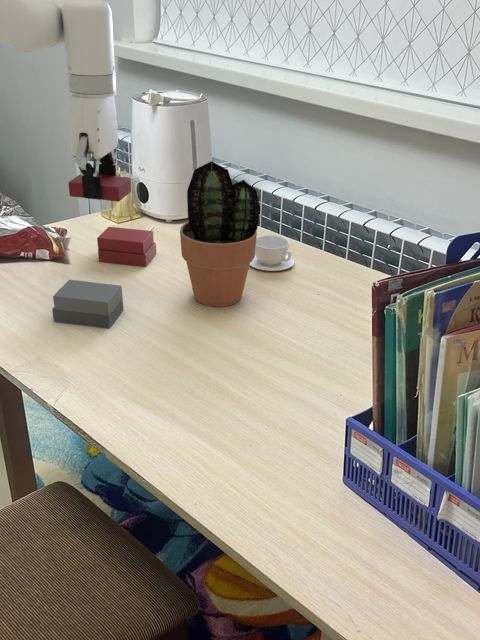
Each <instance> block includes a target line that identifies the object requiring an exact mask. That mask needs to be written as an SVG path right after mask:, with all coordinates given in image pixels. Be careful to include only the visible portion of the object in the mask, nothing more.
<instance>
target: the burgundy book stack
mask: <svg viewBox="0 0 480 640" xmlns="http://www.w3.org/2000/svg"><path fill="white" fill-rule="evenodd" d="M96 239H97V240H96V241H97V249H98V250H97V255H98V262H100V263H108V264H117V265H125V266H126V265H127V266H135V267H145V268H146V267H148V266H149V264H150V263H151V261H152V260H153V258H154V257H155V256H156V255H157V243H156V242H154V230H145V229H137V228H126V227H116V226H107V228H106V229H105V230H104V231H102V232H101V234H99V236H97V237H96Z"/></svg>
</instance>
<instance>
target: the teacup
mask: <svg viewBox="0 0 480 640" xmlns="http://www.w3.org/2000/svg"><path fill="white" fill-rule="evenodd" d="M289 247H290V241H289V240H288V239H287V238H285V237H284V236H281V235H273V234H267V235H259V236H257V237H256V248H255V258H254V259H253V260H252V262H250V265H249V267H251V268H254V269H258V270H260V271H261V270H262V271H272V272H276V271H277V272H278V271H284V270H288V269H289V268H291V267H293V266H294V264H295V260H294V258H293V254H292V251H291V250H289Z"/></svg>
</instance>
